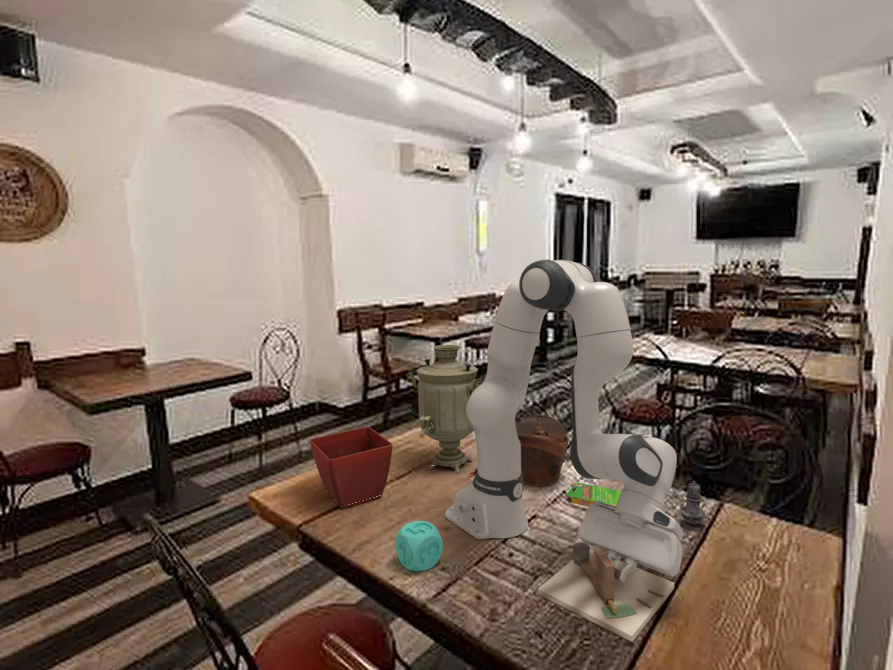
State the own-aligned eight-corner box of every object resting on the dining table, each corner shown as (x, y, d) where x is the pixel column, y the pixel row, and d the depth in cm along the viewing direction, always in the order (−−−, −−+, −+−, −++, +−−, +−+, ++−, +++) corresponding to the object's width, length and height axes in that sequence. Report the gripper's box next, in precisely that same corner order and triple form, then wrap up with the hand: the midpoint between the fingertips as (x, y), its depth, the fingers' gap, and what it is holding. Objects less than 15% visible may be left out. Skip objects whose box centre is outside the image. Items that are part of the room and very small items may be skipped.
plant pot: (332, 518, 140) (328, 459, 138) (312, 492, 157) (308, 438, 154) (396, 499, 150) (394, 444, 147) (371, 476, 166) (368, 426, 164)
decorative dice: (395, 560, 120) (393, 528, 119) (423, 547, 125) (422, 516, 124) (414, 576, 114) (413, 542, 113) (443, 562, 119) (442, 530, 117)
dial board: (537, 594, 106) (537, 588, 106) (586, 552, 121) (586, 546, 120) (632, 642, 93) (632, 635, 93) (674, 588, 107) (674, 582, 107)
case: (532, 497, 148) (532, 436, 146) (498, 471, 167) (497, 417, 164) (582, 485, 155) (583, 427, 153) (544, 462, 174) (545, 410, 171)
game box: (640, 522, 135) (564, 501, 146) (647, 506, 143) (575, 488, 154) (641, 511, 135) (565, 491, 145) (648, 496, 143) (575, 478, 153)
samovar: (384, 466, 174) (378, 349, 168) (442, 445, 191) (438, 338, 185) (444, 494, 152) (440, 360, 146) (503, 467, 170) (501, 347, 164)
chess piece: (708, 532, 127) (710, 486, 126) (682, 530, 129) (684, 484, 127) (701, 519, 133) (703, 475, 131) (677, 518, 134) (678, 474, 133)
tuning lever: (570, 555, 116) (570, 522, 115) (586, 554, 117) (586, 521, 115) (606, 614, 97) (606, 575, 96) (624, 612, 98) (625, 573, 97)
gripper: (586, 492, 113) (563, 554, 107) (684, 524, 99) (663, 596, 93) (596, 504, 117) (574, 564, 111) (691, 535, 103) (671, 605, 97)
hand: (615, 579), depth 102 cm, fingers closed
